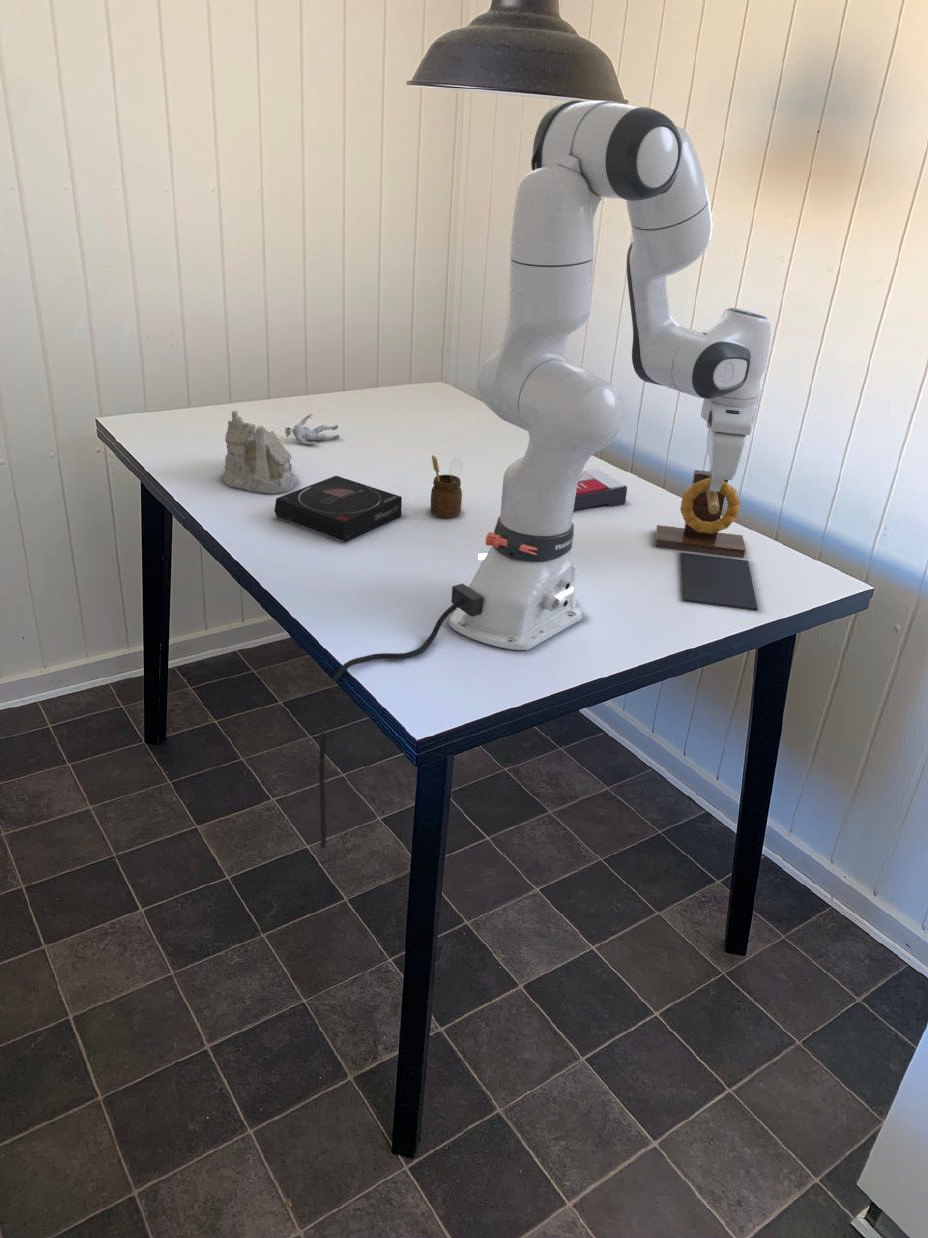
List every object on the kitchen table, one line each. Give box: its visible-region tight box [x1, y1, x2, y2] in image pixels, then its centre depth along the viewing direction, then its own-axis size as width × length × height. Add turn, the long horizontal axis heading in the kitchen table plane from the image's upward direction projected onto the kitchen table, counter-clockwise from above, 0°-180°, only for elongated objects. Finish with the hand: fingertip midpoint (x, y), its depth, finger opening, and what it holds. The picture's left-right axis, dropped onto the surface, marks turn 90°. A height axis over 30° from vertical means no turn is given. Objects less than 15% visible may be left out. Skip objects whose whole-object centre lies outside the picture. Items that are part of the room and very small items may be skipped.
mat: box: [680, 551, 759, 611], centre depth 165 cm, size 19×12×1 cm, turn 170°
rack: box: [655, 469, 746, 558], centre depth 171 cm, size 16×16×14 cm
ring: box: [679, 478, 741, 533], centre depth 168 cm, size 10×2×10 cm, turn 80°
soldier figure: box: [284, 413, 340, 446], centre depth 216 cm, size 8×5×12 cm
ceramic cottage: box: [222, 409, 297, 495], centre depth 193 cm, size 16×16×15 cm
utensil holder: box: [430, 454, 464, 519], centre depth 182 cm, size 6×6×12 cm
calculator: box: [573, 468, 628, 511], centre depth 195 cm, size 11×4×15 cm
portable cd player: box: [273, 475, 403, 544], centre depth 179 cm, size 16×17×4 cm
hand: (713, 486), depth 167 cm, fingers closed on ring, 2 cm apart
